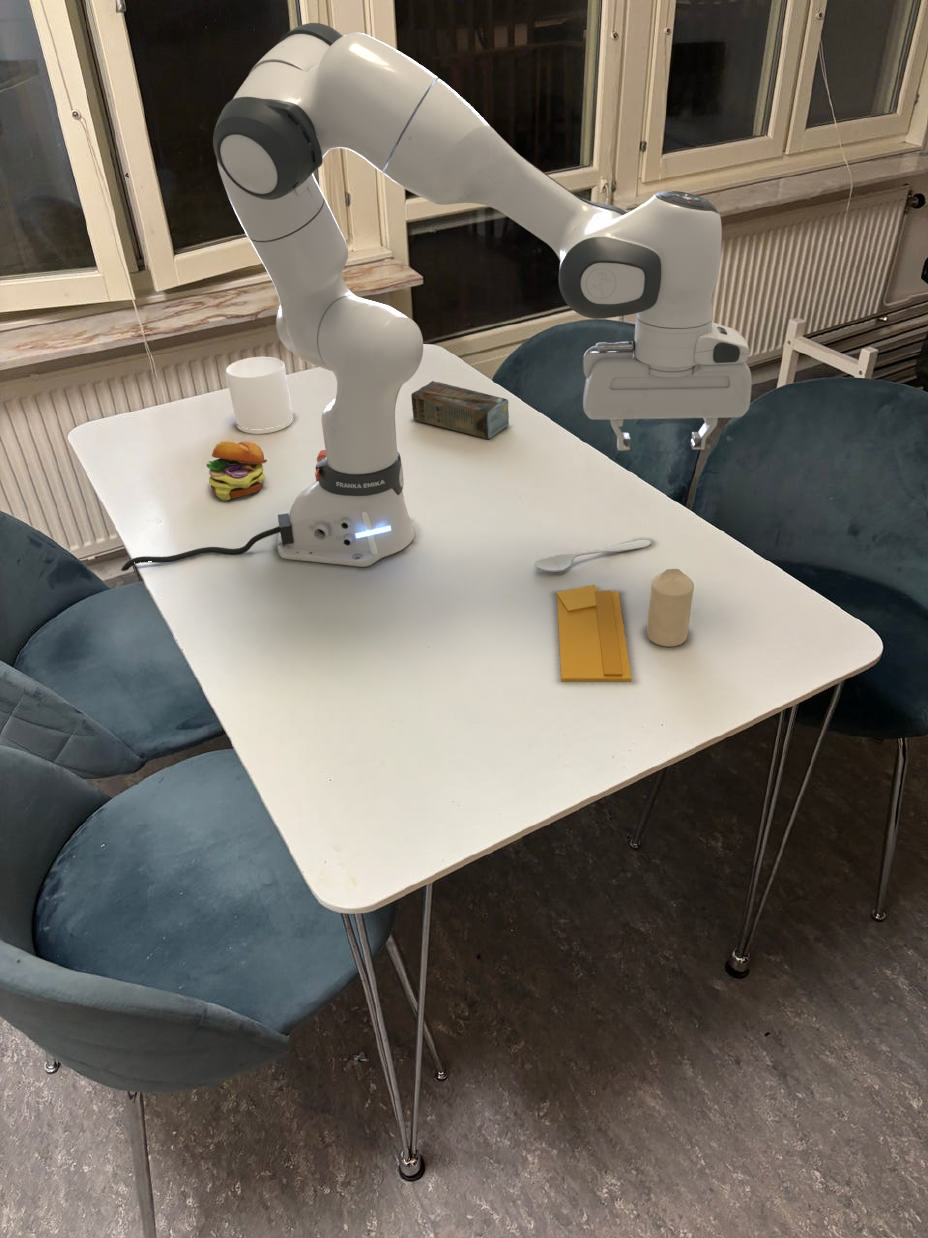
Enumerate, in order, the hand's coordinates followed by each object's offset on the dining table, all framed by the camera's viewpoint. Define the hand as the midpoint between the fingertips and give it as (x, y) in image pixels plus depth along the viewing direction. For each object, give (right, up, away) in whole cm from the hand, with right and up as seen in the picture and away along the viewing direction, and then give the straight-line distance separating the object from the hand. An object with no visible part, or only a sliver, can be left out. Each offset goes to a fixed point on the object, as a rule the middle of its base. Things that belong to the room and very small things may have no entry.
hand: (660, 448), depth 116 cm
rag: (-7, -24, +10) cm, 27 cm away
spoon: (-5, -12, +26) cm, 29 cm away
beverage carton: (-26, +18, +69) cm, 76 cm away
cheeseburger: (-66, +2, +50) cm, 83 cm away
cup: (-67, +19, +74) cm, 101 cm away
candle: (+3, -24, +9) cm, 26 cm away
